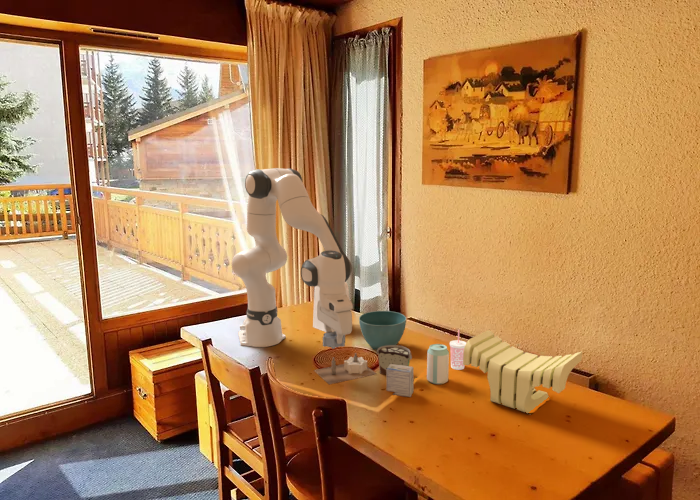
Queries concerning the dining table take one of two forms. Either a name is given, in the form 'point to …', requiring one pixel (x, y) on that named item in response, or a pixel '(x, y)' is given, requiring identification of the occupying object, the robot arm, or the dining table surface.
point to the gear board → (341, 373)
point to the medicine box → (400, 380)
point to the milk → (316, 322)
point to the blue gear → (332, 340)
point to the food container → (393, 356)
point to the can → (437, 364)
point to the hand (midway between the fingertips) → (334, 339)
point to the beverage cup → (457, 353)
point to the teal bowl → (382, 328)
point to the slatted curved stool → (517, 371)
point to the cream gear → (355, 365)
